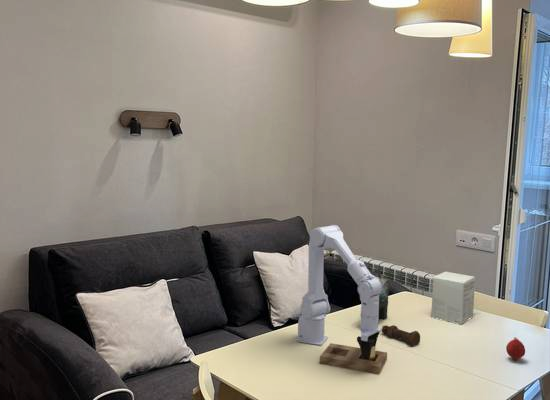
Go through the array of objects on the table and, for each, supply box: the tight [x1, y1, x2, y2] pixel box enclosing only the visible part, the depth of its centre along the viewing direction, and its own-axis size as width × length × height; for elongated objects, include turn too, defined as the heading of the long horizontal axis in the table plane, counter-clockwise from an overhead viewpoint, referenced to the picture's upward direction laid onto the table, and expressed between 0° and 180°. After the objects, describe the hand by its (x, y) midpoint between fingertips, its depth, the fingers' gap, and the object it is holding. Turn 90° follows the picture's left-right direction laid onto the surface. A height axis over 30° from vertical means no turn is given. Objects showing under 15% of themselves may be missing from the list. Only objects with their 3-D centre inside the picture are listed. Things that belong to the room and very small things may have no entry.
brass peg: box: [362, 345, 377, 361], centre depth 173 cm, size 4×4×6 cm
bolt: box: [381, 324, 421, 347], centre depth 194 cm, size 6×5×15 cm
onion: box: [505, 336, 526, 361], centre depth 176 cm, size 6×6×8 cm
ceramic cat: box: [375, 273, 391, 321], centre depth 210 cm, size 20×6×20 cm, turn 144°
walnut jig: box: [319, 342, 388, 375], centre depth 175 cm, size 20×12×2 cm, turn 67°
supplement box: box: [430, 271, 476, 325], centre depth 217 cm, size 13×13×18 cm
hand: (368, 354), depth 173 cm, fingers open, 7 cm apart
